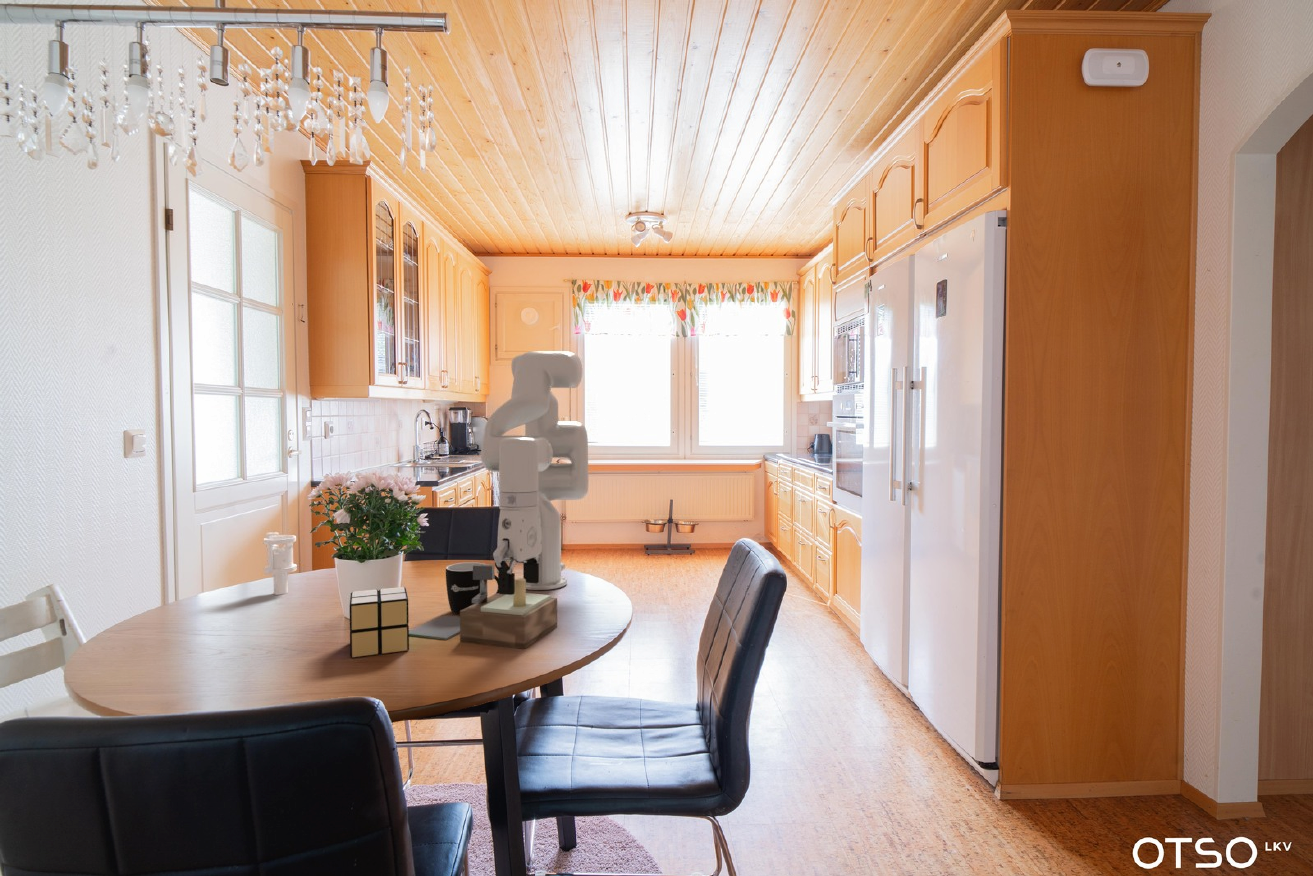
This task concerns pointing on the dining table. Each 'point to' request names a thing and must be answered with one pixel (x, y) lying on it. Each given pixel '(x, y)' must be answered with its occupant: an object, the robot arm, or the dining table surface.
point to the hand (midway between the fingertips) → (519, 588)
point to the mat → (438, 628)
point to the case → (507, 625)
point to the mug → (462, 585)
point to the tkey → (482, 580)
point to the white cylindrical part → (280, 560)
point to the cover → (516, 601)
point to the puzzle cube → (379, 622)
